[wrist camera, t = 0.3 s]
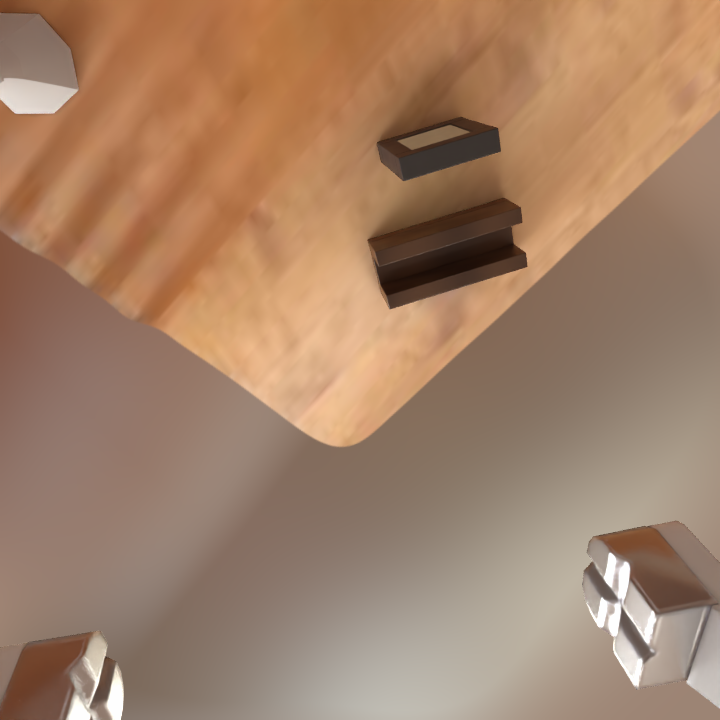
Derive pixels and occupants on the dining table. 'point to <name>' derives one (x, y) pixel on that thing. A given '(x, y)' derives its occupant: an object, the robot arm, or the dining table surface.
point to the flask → (34, 65)
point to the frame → (438, 147)
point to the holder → (447, 253)
